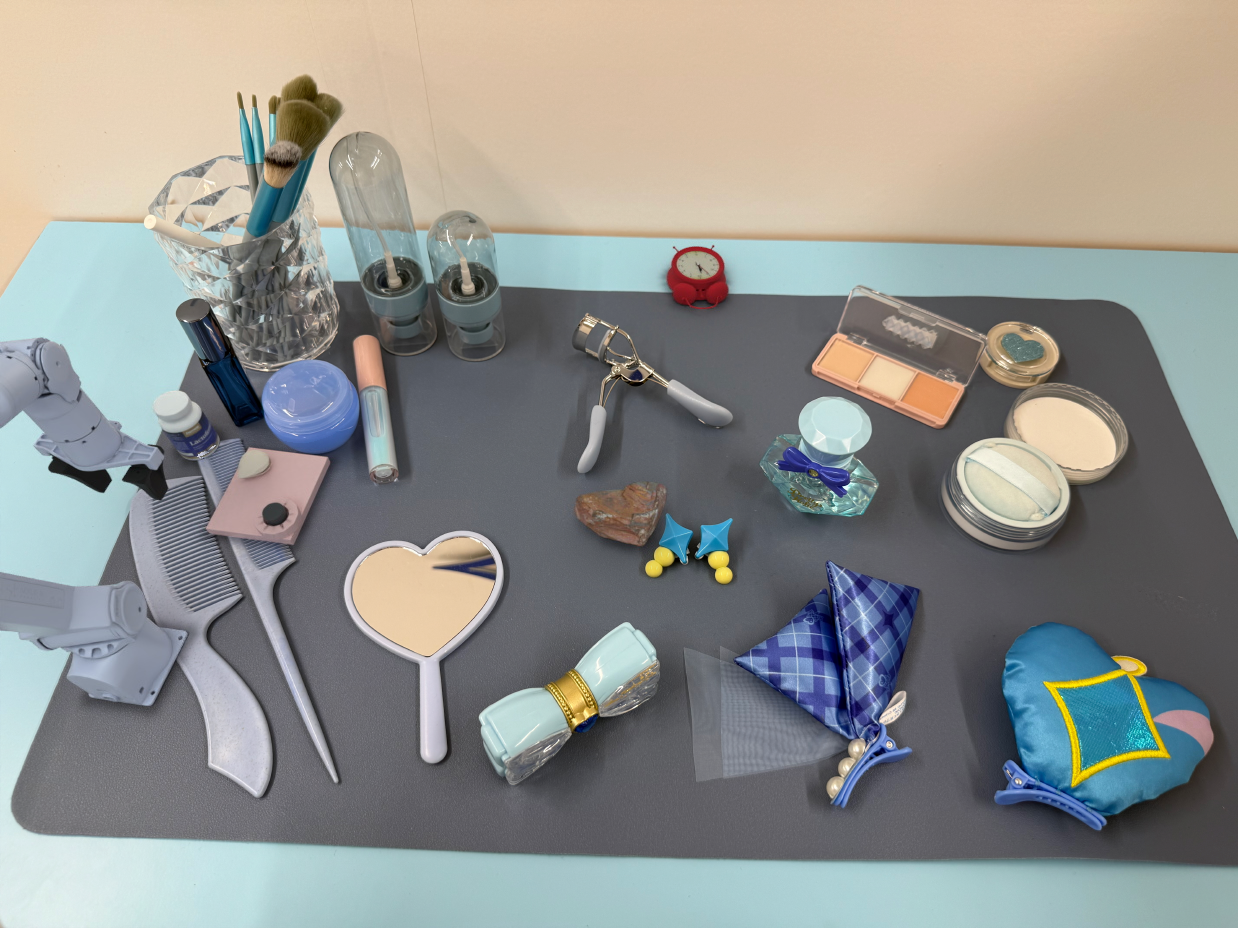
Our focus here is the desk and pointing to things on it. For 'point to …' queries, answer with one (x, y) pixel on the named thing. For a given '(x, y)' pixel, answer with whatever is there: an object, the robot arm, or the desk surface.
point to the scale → (270, 498)
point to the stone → (623, 511)
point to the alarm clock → (697, 276)
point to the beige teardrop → (253, 464)
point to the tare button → (274, 514)
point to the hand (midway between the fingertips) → (134, 490)
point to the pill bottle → (185, 425)
